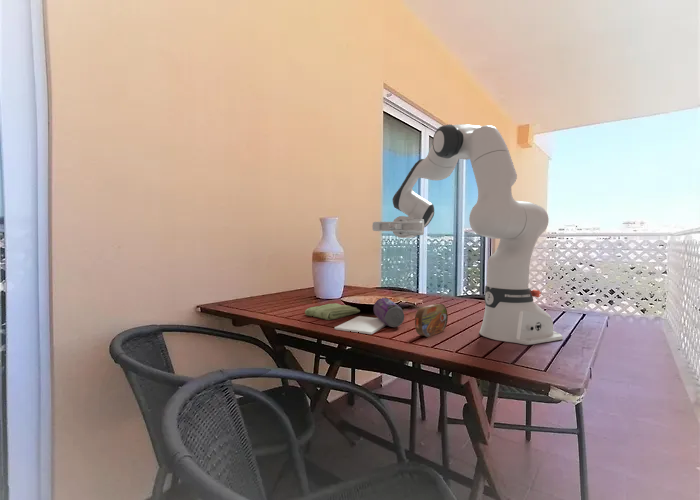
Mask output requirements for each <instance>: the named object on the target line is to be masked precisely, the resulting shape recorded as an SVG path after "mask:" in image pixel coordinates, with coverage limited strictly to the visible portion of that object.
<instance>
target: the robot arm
mask: <svg viewBox="0 0 700 500" xmlns="http://www.w3.org/2000/svg"><path fill="white" fill-rule="evenodd" d="M510 153H511V152H510V150H509V148H508V145H507V143H506V141H505V139H504V138H503V136H502V134H501V132H500V131H499V129H498V128H497V127H495V126H493V125H489V124H488V125H475V124H469V123H468V124H466V123H463V124H461V123H460V124H445V125H441V126H439V127H438V128H437V129H436V131H435V133H434V134H433V137H432V145H431V146H430V149H429V151H428V153H427V156H426V157H425V158H420V159H419V160H417V162H415V163H414V164H413V166H412V167H411V169H410V170H409V172H408V173H407V175H406V177H405V178H404V180H403V182H402V184H401V185H400V186H399V188H398V190H397V191H396V192H395V193H394V195H393V197H392V204H393V207H394V208H395V209H396V210H398V211H400V212H401V213H404V215H401V216H398V217H396V218H394V220H393V221H373V222H372V226H371V227H372V231H373V232H392V233H393V235H394V236H395V237H397V238H401V239H405V238H406V239H410V238H411V239H412V238H415V237H418V236H424V233H425V228H426V227H427V226H428V225H429V224H430V223H431V221H432V220H433V218H434V215H435V206H434V204H433V203H432V202H431V201H429V200H428V199H426V198H424V197H422V196H420V195H419V194H418V193H416V192H415V191H414V190H413V188H414V186H415V184H416V183H417V182H418V180H419V179H427V180H428V181H429V180H430V181H443V180H445V179H447V178H449V177H450V176H451V174H452V173H453V172H454V170H455V168H456V166H457V164H458V162H459V160H470V164H471V168H472V171H473V174H474V178H475V182H476V185H477V200H476V201H477V202H475V205H473V206H472V209H471V210H470V213H469V225H470V228H471V230H472V231H473V233H474V234H476V235H479V236H481V237H484V238H489V239H491V240H493V239H499V243H498V245H497V248H496V249H495V252H493V253H492V254H491V255H490V256H489V257H488V259H487V265H486V266H487V267H486V271H487V272H486V285H485V287H484V288H485V289H484V304H485V305H484V306H485V307H484V314H483V320H482V324H481V325H480V326H481V327H480V330H479V335H481V336H483V337H485V338H488V339H491V340H495V341H498V342H499V341H501V342H507V343H515V344H521V345H528V346H531V345H536V344H543V343H548V342H554V341H559V340H560V341H561V340H563V339H564V338H563V335H562V334H561V333H559V332H557V331H554V322H553V319H552V316H551V315H550V314H549V313H548V312H547V311H545V310H544V309H543V308H541V306H540V305H538V304H537V303H536V302H534V297H535V298H541V297H542V292H541V290H539V289H532V290H531V289H530V288H529V283H530V282H529V279H530V265H531V259H532V255H533V252H534V248H535V246H536V244H537V241H538V239H539V238H540V236H541V235H542V234H544V233H545V231H546V230H547V227H548V226H549V214H548V212H547V211H546V209H545V208H544V207H543V206H540V205H538V204H536V203H534V202H531V201H522V200H515V198H513V195H512V187H513V186H514V184H516V181H517V179H518V175H517V171H516V169H515V166H514V165H515V164H514V162H513V159H512V156H511V154H510ZM405 215H406V216H405Z"/></svg>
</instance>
